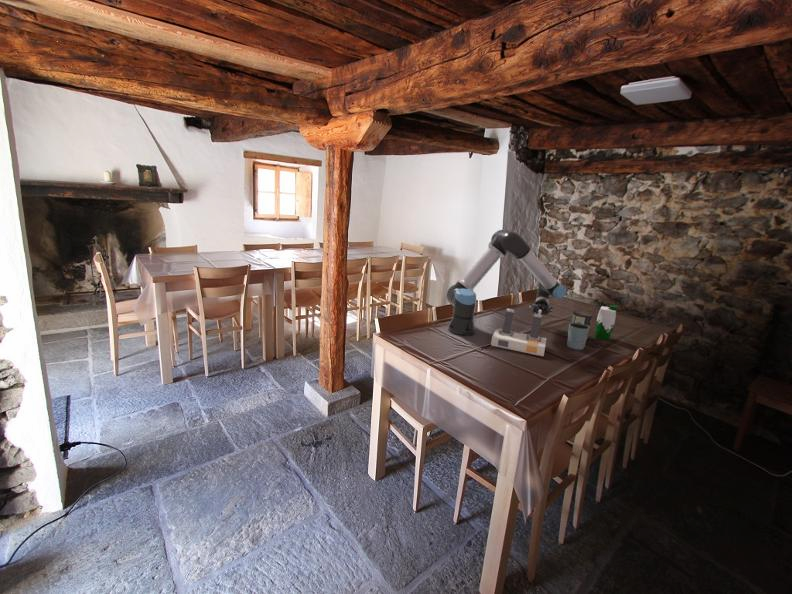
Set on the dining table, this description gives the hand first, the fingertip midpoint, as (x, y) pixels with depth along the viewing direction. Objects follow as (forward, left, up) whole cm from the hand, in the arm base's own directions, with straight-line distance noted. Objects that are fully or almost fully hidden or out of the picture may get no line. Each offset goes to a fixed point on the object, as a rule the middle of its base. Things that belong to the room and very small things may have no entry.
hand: (539, 315), depth 206 cm
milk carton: (+36, +31, -16) cm, 50 cm away
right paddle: (0, -12, -9) cm, 15 cm away
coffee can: (+23, +26, -16) cm, 38 cm away
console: (-7, -12, -15) cm, 21 cm away
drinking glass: (+21, +6, -16) cm, 26 cm away
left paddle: (-14, -12, -9) cm, 21 cm away
